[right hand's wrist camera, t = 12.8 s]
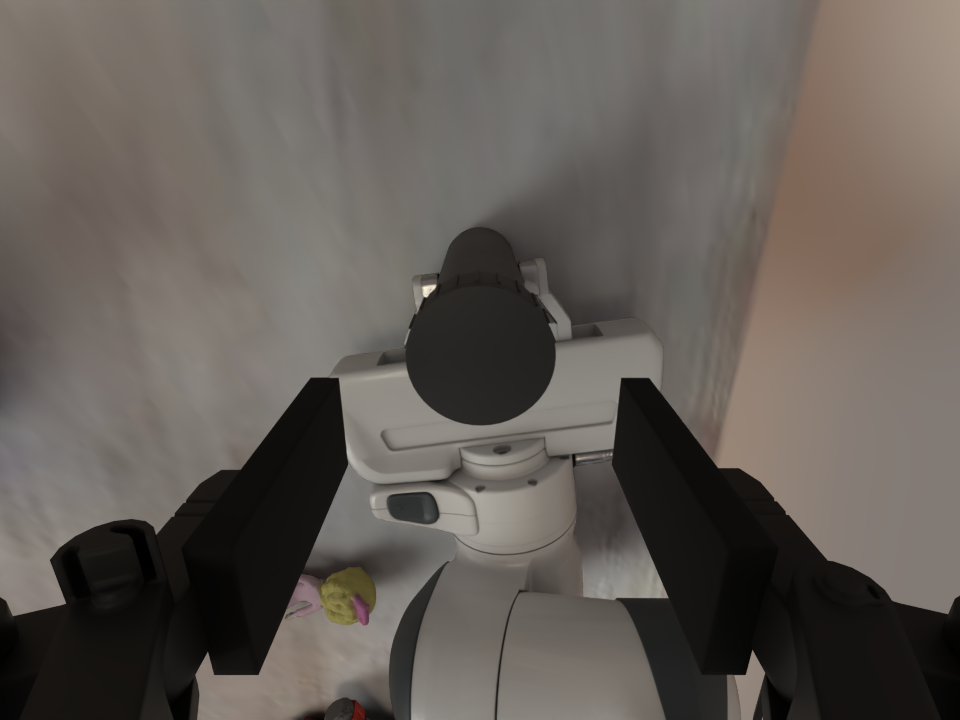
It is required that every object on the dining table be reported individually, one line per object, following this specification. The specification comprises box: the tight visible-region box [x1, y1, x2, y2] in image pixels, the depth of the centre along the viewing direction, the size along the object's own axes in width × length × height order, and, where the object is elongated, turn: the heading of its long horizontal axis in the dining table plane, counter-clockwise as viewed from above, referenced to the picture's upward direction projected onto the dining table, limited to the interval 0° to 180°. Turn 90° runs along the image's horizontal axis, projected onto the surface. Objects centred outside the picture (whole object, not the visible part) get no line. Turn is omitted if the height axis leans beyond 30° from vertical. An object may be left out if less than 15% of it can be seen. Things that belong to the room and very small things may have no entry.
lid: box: [405, 270, 556, 426], centre depth 20 cm, size 6×6×2 cm
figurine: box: [285, 566, 376, 626], centre depth 45 cm, size 6×4×15 cm
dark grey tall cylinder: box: [435, 228, 525, 288], centre depth 28 cm, size 5×5×18 cm
